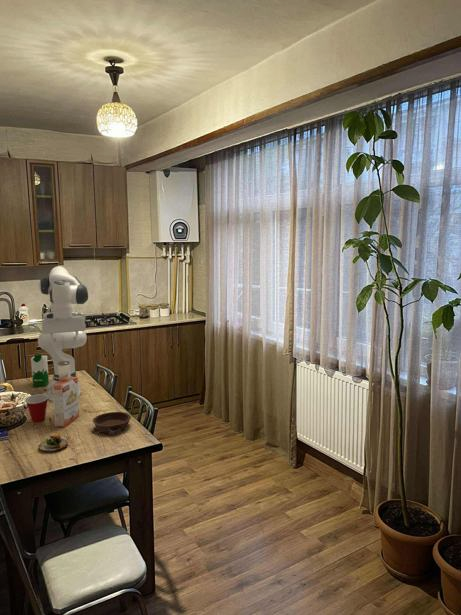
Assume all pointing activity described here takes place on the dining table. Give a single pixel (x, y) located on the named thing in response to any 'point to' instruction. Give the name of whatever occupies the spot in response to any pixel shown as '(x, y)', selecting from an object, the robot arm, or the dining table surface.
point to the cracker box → (65, 402)
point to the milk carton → (39, 370)
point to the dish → (112, 422)
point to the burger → (54, 443)
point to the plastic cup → (37, 407)
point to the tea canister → (64, 371)
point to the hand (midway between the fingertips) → (64, 341)
